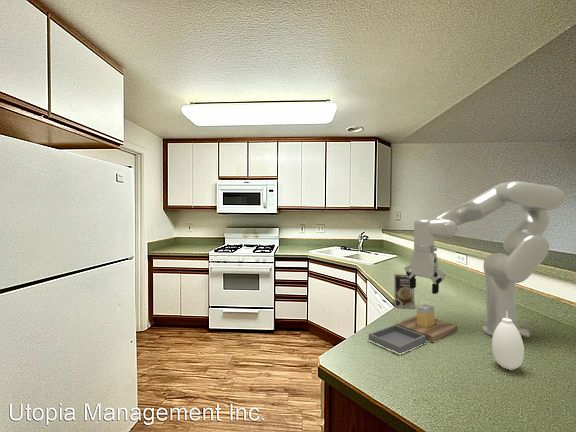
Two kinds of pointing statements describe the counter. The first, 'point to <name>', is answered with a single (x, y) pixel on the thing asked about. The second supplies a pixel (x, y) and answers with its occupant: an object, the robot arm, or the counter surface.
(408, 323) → the wooden plate with hole
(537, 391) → the counter surface
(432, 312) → the block
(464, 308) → the counter surface
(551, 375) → the counter surface
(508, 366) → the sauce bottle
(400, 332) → the parts tray
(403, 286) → the coffee box
